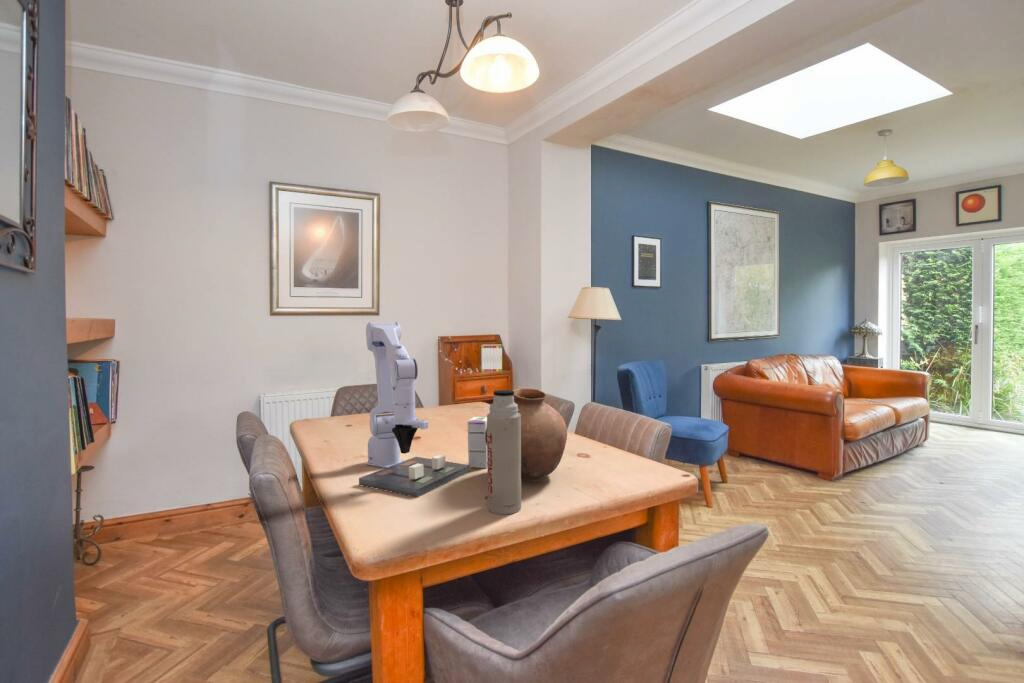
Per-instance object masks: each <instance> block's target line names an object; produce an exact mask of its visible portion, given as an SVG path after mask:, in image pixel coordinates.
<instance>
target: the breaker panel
mask: <svg viewBox="0 0 1024 683" xmlns="http://www.w3.org/2000/svg"><path fill="white" fill-rule="evenodd" d="M417 463H418V464H423V468H424V476H422V477H419V478H417V479H411V478H409V467H410V466H412V465H415V464H417ZM470 471H471V467H470V465H469V464H465V463H464V464H463V463H459V462H453V461H446V460H445V466H444V467H442V468H440V469H433V468H432V458H427V457H421V456H414V457H411V458H409V459H405V461H403V462H400V463H398V464H395V465H392V466H390V467H387V468H381V469H378V470H377V471H373V472H371V473H369V474H368V473H367V474H366V475H364V476H361V477H359V478H358V485H359V486H360V485H363V486H362V487H365V486H368V487H367V488H369V487H373V488H372V489H374V488H378V489H377V490H379V489H382V490H381V491H384V490H387V491H386V492H389V491H392V492H391V493H394V492H396V493H395V494H398V493H401V494H400V495H403V494H404V495H405V496H408V495H410V497H413V496H414V498H419V497H421V496H423V495H425V494H427V493H429V492H431V490H432V491H433V489H434V490H436V489H438V488H439V487H442V486H443V485H446V484H448V483H450V482H452V481H454V480H456V479H458V478H460V477H462V476H464V475H466V473H467V474H469V473H470ZM468 472H469V473H468ZM441 485H442V486H441ZM435 488H436V489H435Z"/></svg>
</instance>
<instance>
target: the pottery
mask: <svg viewBox="0 0 1024 683" xmlns="http://www.w3.org/2000/svg"><path fill="white" fill-rule="evenodd" d="M512 391H514V395H513V396H514V403H516V404H517V405H518V413H519V414H521V481H535V480H536V481H537V480H540V479H543V478H546V477H548V476H549V475H551V474H552V473H553V472H554V471H555V470H556V469H557V468H558V466H559V465H560V463H561V461H562V458H563V455H564V451H565V449H566V444H567V439H568V427H567V424H566V421H565V419H564V418H563V416H562V415H561V414H560V413H559V412H558V411H557V410H556V409H555V408H554V407H552V405H549V404H548V403H546V402H544V400H545V399H546V398H547V394H546V393H545V392H544V391H542V390H539V389H535V388H529V387H528V388H524V387H523V388H522V387H521V388H515V389H512ZM485 440H486V444H487V428H486V433H485Z"/></svg>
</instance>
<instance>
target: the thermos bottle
mask: <svg viewBox="0 0 1024 683" xmlns="http://www.w3.org/2000/svg"><path fill="white" fill-rule="evenodd" d="M512 390H513V389H512ZM512 390H511V389H499V390H498V389H497V390H494V391H493V402H492V403H491V404H490V405H489V413H487V414H486V417H487V468H486V469H487V476H486V477H487V510H488V511H489V512H490V513H493V514H497V515H511V514H515V513H518V512H519V510H520V511H521V509H522V480H521V414H519V413H518V405H517V404H516V403H514V396H513V395H514V391H512Z"/></svg>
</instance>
